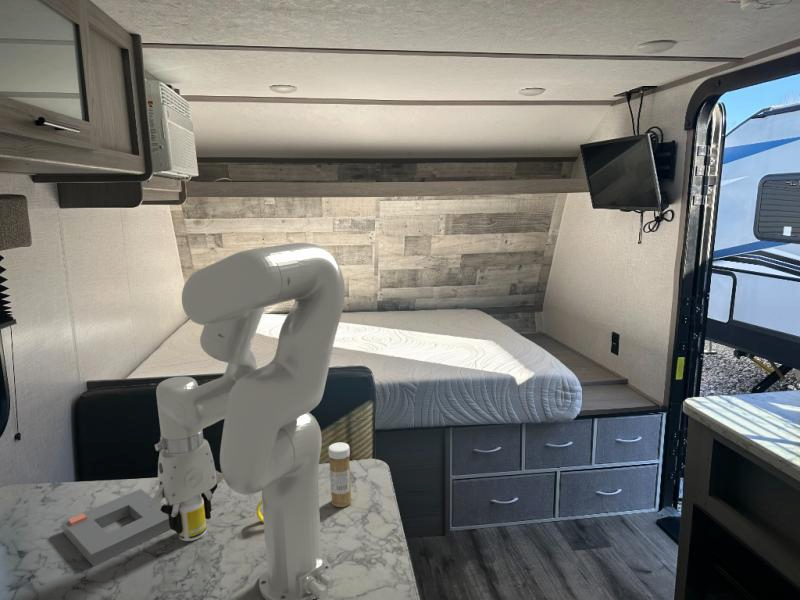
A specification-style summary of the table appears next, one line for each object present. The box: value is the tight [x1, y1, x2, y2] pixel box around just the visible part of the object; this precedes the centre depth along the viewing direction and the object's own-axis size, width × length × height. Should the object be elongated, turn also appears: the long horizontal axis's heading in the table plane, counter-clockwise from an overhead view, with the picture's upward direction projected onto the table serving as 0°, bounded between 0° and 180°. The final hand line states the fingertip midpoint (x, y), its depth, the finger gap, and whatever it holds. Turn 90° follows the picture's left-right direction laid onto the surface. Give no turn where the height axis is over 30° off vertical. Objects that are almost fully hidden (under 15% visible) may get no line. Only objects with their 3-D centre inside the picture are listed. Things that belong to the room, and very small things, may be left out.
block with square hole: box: [61, 488, 172, 567], centre depth 112 cm, size 16×16×3 cm
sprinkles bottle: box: [327, 442, 352, 508], centre depth 119 cm, size 5×5×14 cm
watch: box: [256, 499, 264, 523], centre depth 114 cm, size 6×3×6 cm, turn 92°
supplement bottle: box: [177, 494, 207, 542], centre depth 109 cm, size 5×5×10 cm
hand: (191, 522), depth 110 cm, fingers closed on supplement bottle, 5 cm apart
